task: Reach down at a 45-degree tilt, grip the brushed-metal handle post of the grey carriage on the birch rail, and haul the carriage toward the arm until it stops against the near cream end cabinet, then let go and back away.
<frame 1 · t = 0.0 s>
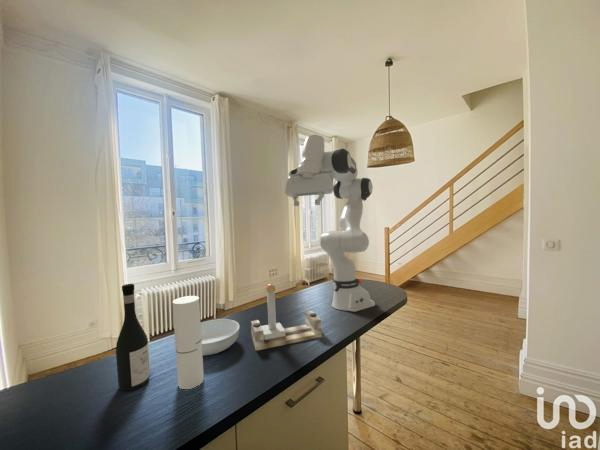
hand: (306, 205, 100), 52 cm above the worktop, tool tilted 20°, fingers open, 8 cm apart
carriage: (271, 308, 100), point 13 cm above the worktop, slide at 0.0 cm
wine bottle: (135, 384, 78), on the worktop
serving bowl: (212, 348, 97), on the worktop
rail: (286, 337, 102), on the worktop
cylindrical container: (191, 382, 77), on the worktop
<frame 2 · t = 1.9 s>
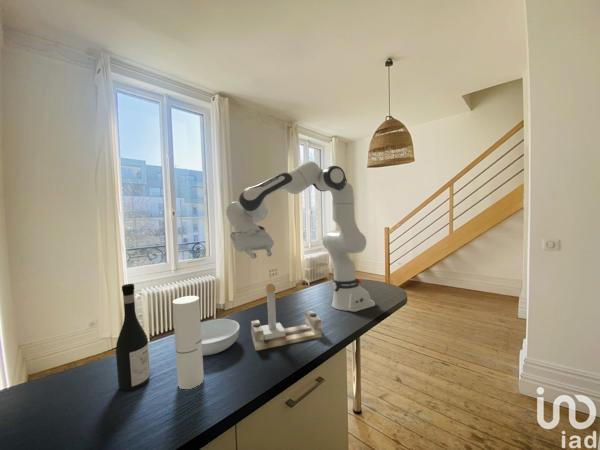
hand: (262, 256, 109), 31 cm above the worktop, tool tilted 40°, fingers open, 8 cm apart
nothing on the worktop moved.
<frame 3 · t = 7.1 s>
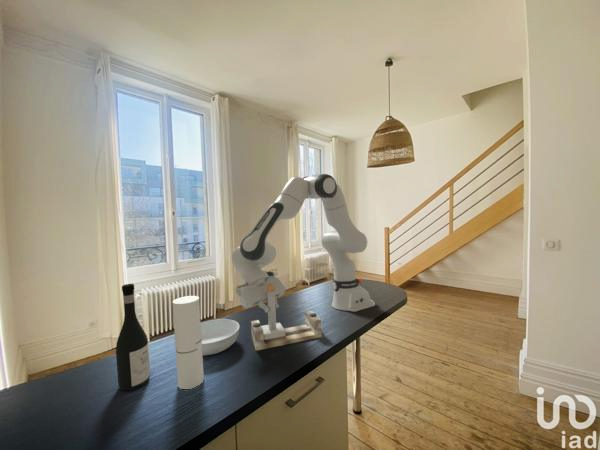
hand: (272, 309, 100), 12 cm above the worktop, tool tilted 45°, fingers closed on carriage, 3 cm apart
carriage: (271, 308, 100), point 13 cm above the worktop, slide at 0.0 cm, touching gripper
everything else where it was.
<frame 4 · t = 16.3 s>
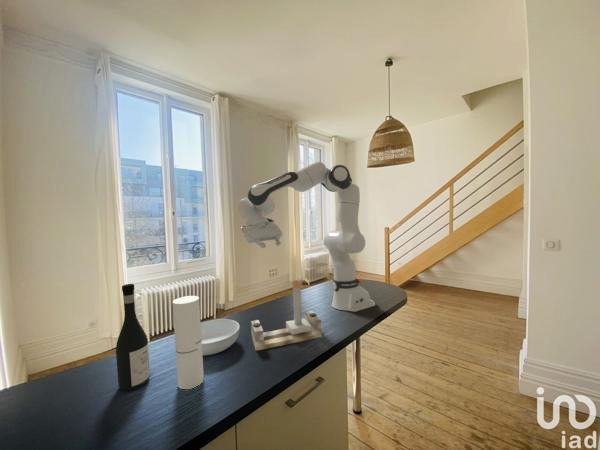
hand: (271, 245, 120), 34 cm above the worktop, tool tilted 45°, fingers open, 8 cm apart
carriage: (297, 304, 103), point 13 cm above the worktop, slide at 10.5 cm
everything else where it was.
at the end: carriage slide at 10.5 cm; the gripper is holding nothing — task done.
